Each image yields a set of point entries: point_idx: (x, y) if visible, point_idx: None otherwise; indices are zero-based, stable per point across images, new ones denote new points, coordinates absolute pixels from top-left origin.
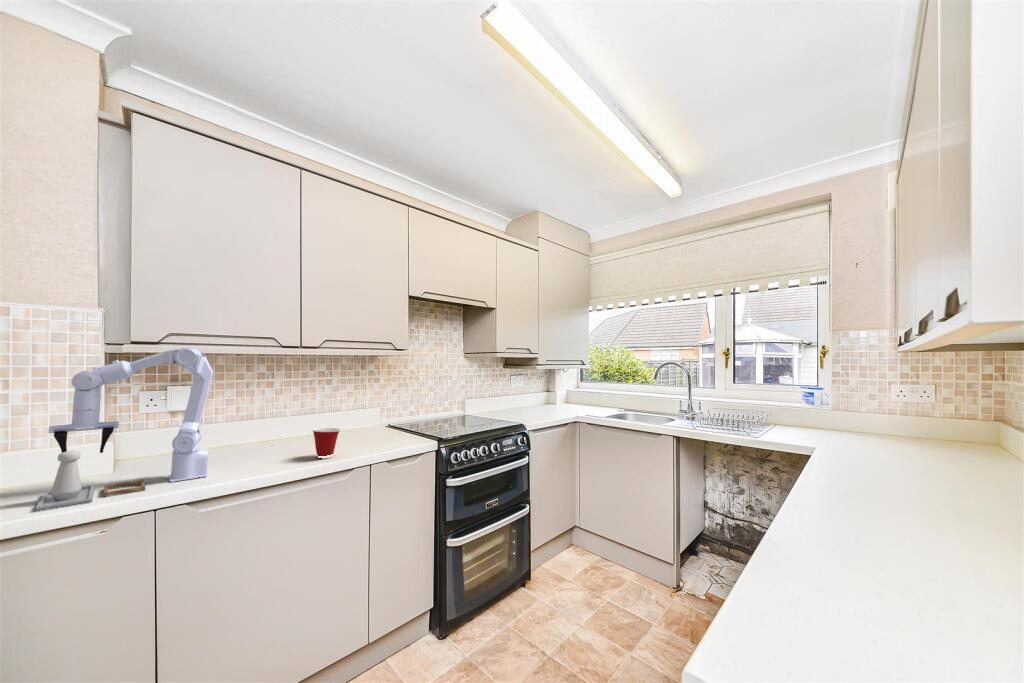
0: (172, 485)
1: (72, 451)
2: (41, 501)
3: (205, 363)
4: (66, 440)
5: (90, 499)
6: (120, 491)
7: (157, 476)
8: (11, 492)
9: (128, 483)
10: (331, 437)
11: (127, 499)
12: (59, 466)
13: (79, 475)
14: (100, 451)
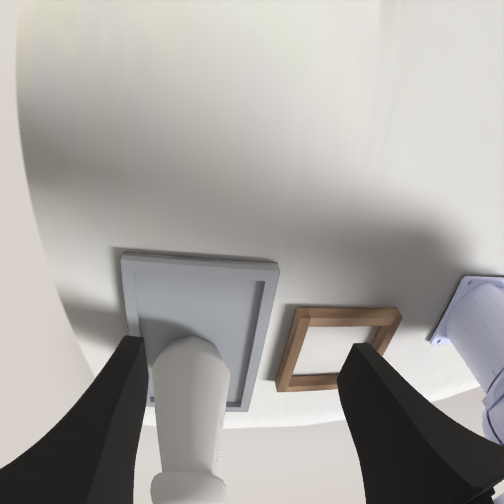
0: (414, 365)
1: None
2: None
3: None
4: (114, 471)
5: (244, 410)
6: (313, 388)
7: (456, 238)
8: (23, 106)
9: (360, 323)
10: None
11: (308, 415)
12: (161, 460)
13: (223, 414)
14: (341, 391)
